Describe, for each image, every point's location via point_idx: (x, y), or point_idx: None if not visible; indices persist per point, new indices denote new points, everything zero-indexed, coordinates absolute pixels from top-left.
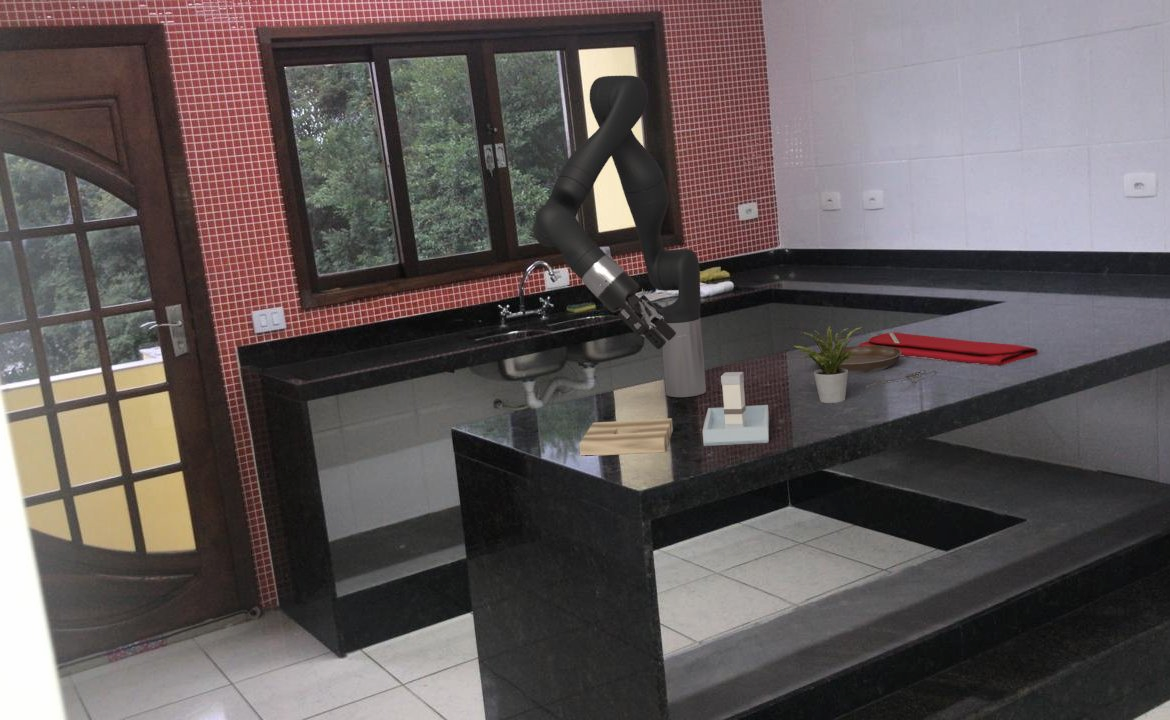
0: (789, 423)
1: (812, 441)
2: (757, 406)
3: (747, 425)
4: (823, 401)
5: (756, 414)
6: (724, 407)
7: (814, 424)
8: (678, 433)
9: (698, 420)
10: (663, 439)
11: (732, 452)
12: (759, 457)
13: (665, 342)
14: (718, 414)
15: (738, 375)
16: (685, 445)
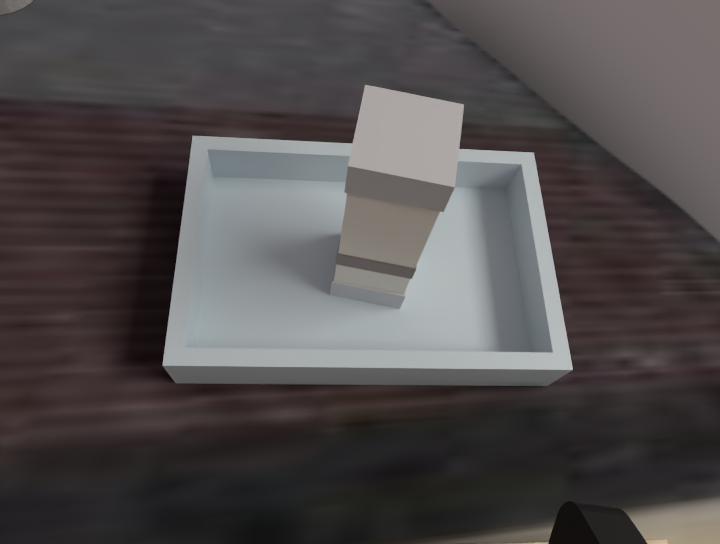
0: (279, 117)
1: (504, 81)
2: (204, 170)
3: (318, 233)
4: (17, 6)
5: (208, 194)
6: (417, 262)
7: (311, 60)
8: (334, 512)
9: (113, 435)
10: (665, 542)
11: (623, 287)
12: (671, 213)
13: (603, 507)
14: (192, 329)
15: (453, 108)
16: (533, 460)
